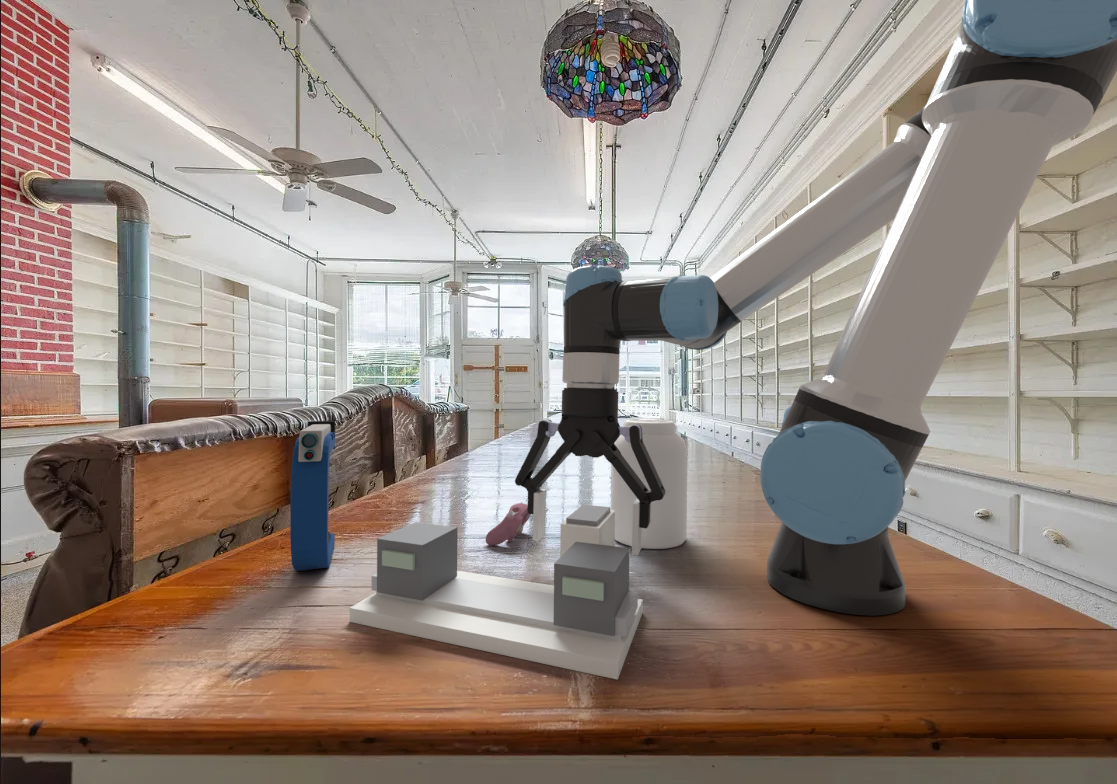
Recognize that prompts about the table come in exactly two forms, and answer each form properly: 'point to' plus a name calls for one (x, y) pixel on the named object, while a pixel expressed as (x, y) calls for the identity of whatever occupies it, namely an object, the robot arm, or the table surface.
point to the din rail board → (506, 602)
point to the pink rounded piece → (509, 525)
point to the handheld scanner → (311, 497)
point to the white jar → (672, 472)
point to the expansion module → (588, 527)
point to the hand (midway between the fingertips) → (585, 544)
